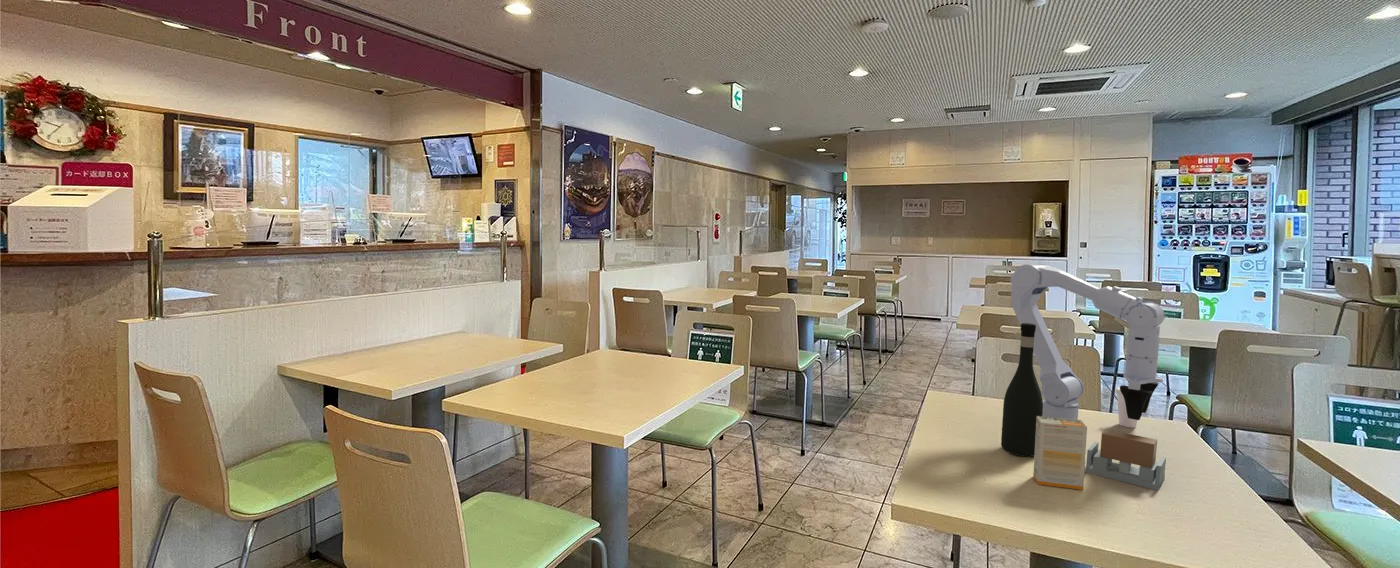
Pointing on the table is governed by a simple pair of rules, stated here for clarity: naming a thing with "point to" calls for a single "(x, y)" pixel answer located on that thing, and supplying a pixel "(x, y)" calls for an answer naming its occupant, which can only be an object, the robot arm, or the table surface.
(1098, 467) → the display stand
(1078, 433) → the supplement box
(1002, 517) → the table surface
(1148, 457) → the brown rectangular block
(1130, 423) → the smoothie
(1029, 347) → the wine bottle
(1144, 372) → the robot arm
